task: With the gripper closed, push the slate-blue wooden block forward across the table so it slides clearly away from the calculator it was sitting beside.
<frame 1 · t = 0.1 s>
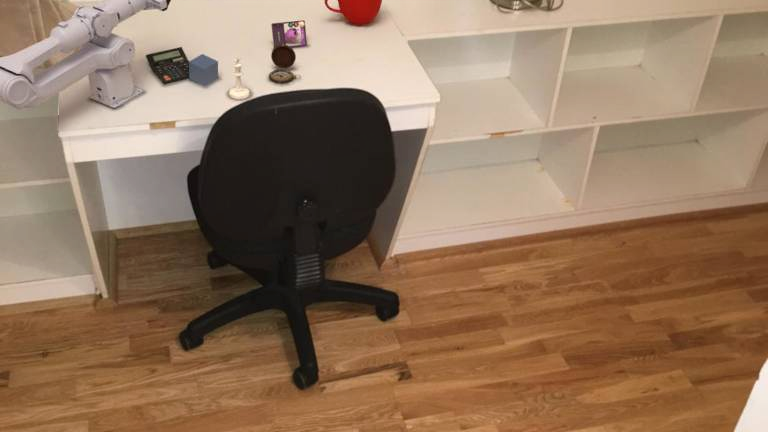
chess piece: (239, 94, 192), on the table
compass: (285, 78, 199), on the table
purple printed box: (288, 44, 213), on the table
slate block: (203, 78, 196), on the table, tilted 6°, touching calculator
ceramic cup: (352, 22, 226), on the table
calculator: (173, 71, 199), on the table, touching slate block
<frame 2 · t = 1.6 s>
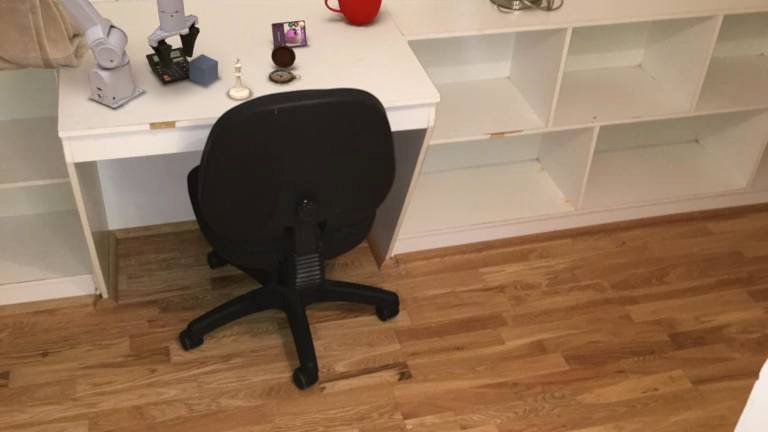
hand: (177, 62, 185), 8 cm above the table, tool pointing down, fingers open, 7 cm apart
nothing on the table moved.
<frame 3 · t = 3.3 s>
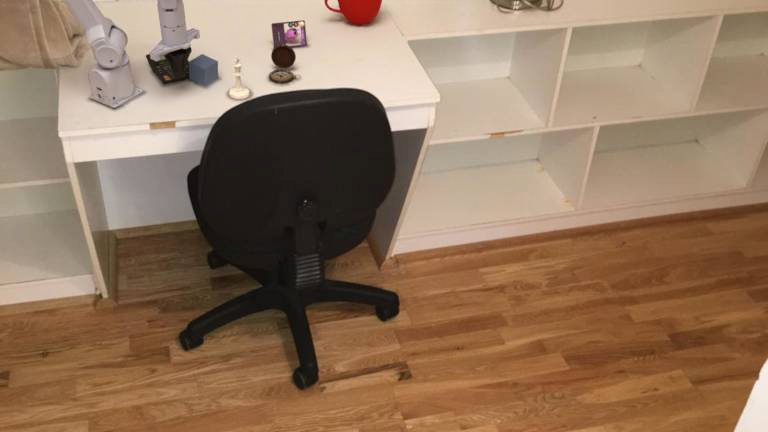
hand: (179, 75, 187), 5 cm above the table, tool pointing down, fingers closed
nothing on the table moved.
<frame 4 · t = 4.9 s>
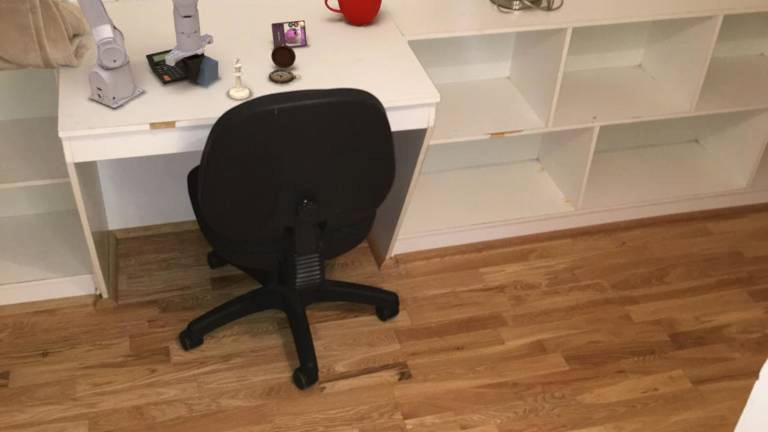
hand: (193, 80, 192), 2 cm above the table, tool pointing down, fingers closed
slate block: (203, 78, 196), on the table, tilted 6°, touching calculator, gripper
everything else where it was.
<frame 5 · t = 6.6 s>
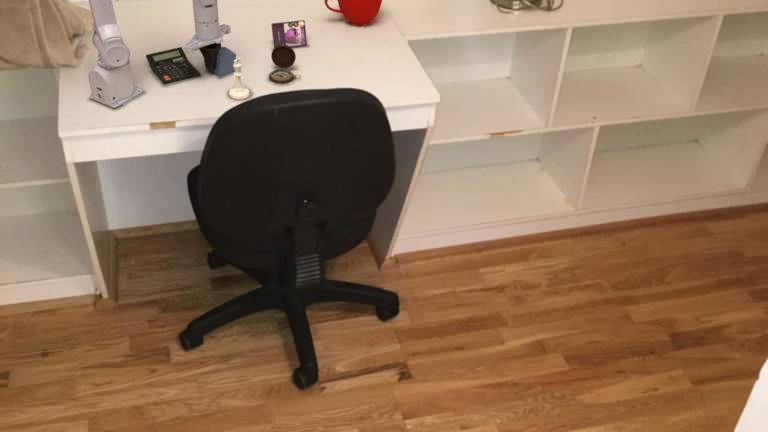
hand: (210, 69, 197), 2 cm above the table, tool pointing down, fingers closed, pressing on slate block
slate block: (222, 70, 200), on the table, touching gripper
calculator: (173, 71, 199), on the table
everything else where it was.
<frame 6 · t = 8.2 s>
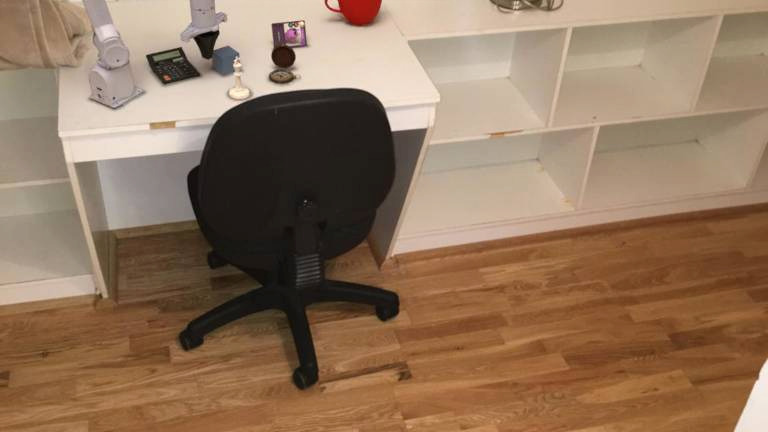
hand: (207, 57, 194), 5 cm above the table, tool pointing down, fingers closed
slate block: (226, 69, 200), on the table
everything else where it was.
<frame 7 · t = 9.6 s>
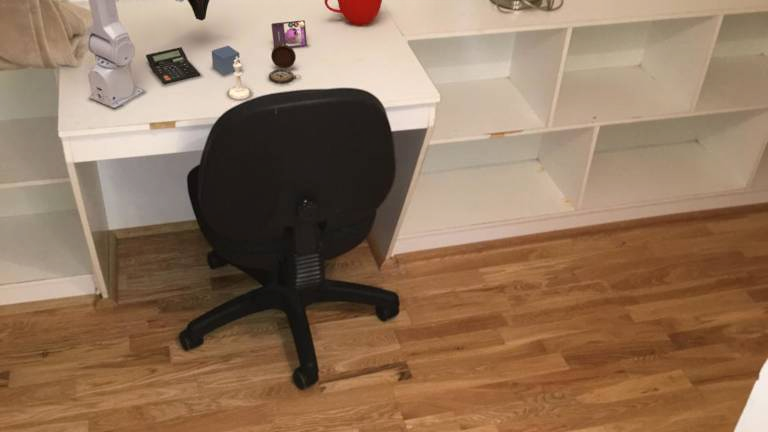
hand: (200, 18, 201), 9 cm above the table, tool pointing down, fingers closed
nothing on the table moved.
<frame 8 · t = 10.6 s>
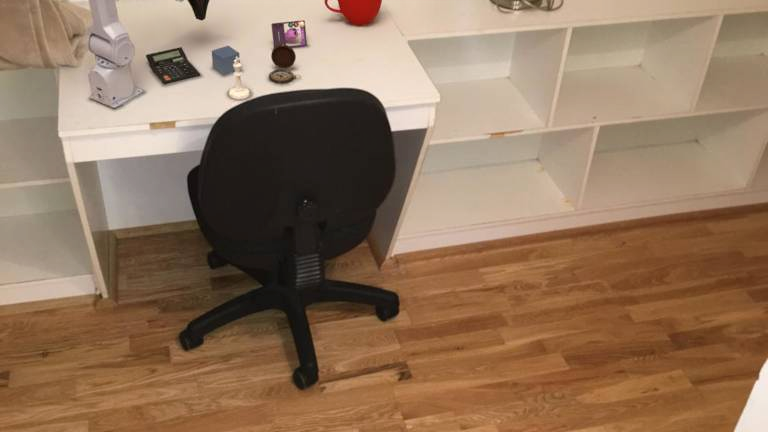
hand: (200, 18, 201), 9 cm above the table, tool pointing down, fingers closed
nothing on the table moved.
at the end: slate block moved 7.4 cm from its start; slate block inside the target area on the table beside the calculator (1.9 cm from its centre), on the table; calculator moved 0.2 cm from its start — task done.
